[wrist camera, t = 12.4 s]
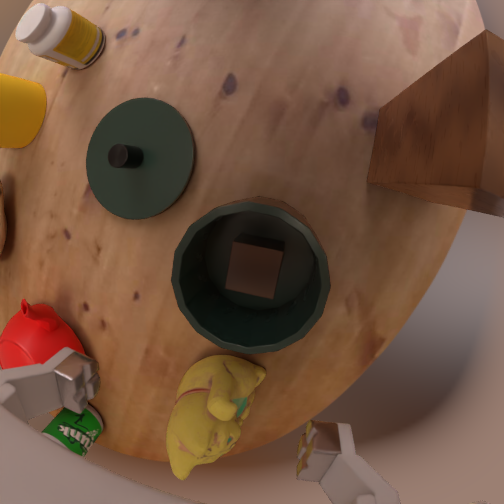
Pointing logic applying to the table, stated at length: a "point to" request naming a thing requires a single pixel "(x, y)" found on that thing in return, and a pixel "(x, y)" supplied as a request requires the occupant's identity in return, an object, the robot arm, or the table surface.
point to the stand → (448, 132)
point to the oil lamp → (2, 220)
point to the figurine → (210, 410)
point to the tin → (241, 304)
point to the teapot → (35, 337)
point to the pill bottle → (60, 36)
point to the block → (254, 265)
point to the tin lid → (140, 158)
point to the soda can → (75, 429)
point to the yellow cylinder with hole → (20, 111)
